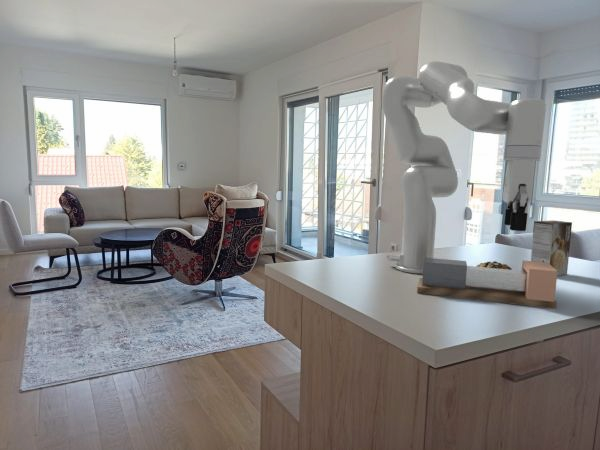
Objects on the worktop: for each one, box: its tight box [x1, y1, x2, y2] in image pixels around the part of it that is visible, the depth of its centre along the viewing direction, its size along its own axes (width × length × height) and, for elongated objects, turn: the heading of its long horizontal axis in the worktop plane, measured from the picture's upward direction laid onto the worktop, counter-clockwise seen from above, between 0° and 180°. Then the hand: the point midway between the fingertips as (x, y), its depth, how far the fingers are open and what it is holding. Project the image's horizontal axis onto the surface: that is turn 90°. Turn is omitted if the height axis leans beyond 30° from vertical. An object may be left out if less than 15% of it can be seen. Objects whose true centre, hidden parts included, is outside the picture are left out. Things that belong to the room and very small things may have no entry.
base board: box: [416, 277, 558, 310], centre depth 104 cm, size 30×10×2 cm, turn 71°
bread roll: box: [475, 260, 513, 270], centre depth 126 cm, size 11×11×5 cm
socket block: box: [520, 259, 558, 302], centre depth 99 cm, size 6×10×7 cm, turn 161°
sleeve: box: [422, 257, 468, 290], centre depth 106 cm, size 10×6×6 cm, turn 71°
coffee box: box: [530, 220, 573, 277], centre depth 128 cm, size 9×6×16 cm
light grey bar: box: [466, 265, 527, 291], centre depth 102 cm, size 18×4×4 cm, turn 71°
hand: (514, 227), depth 100 cm, fingers open, 9 cm apart
